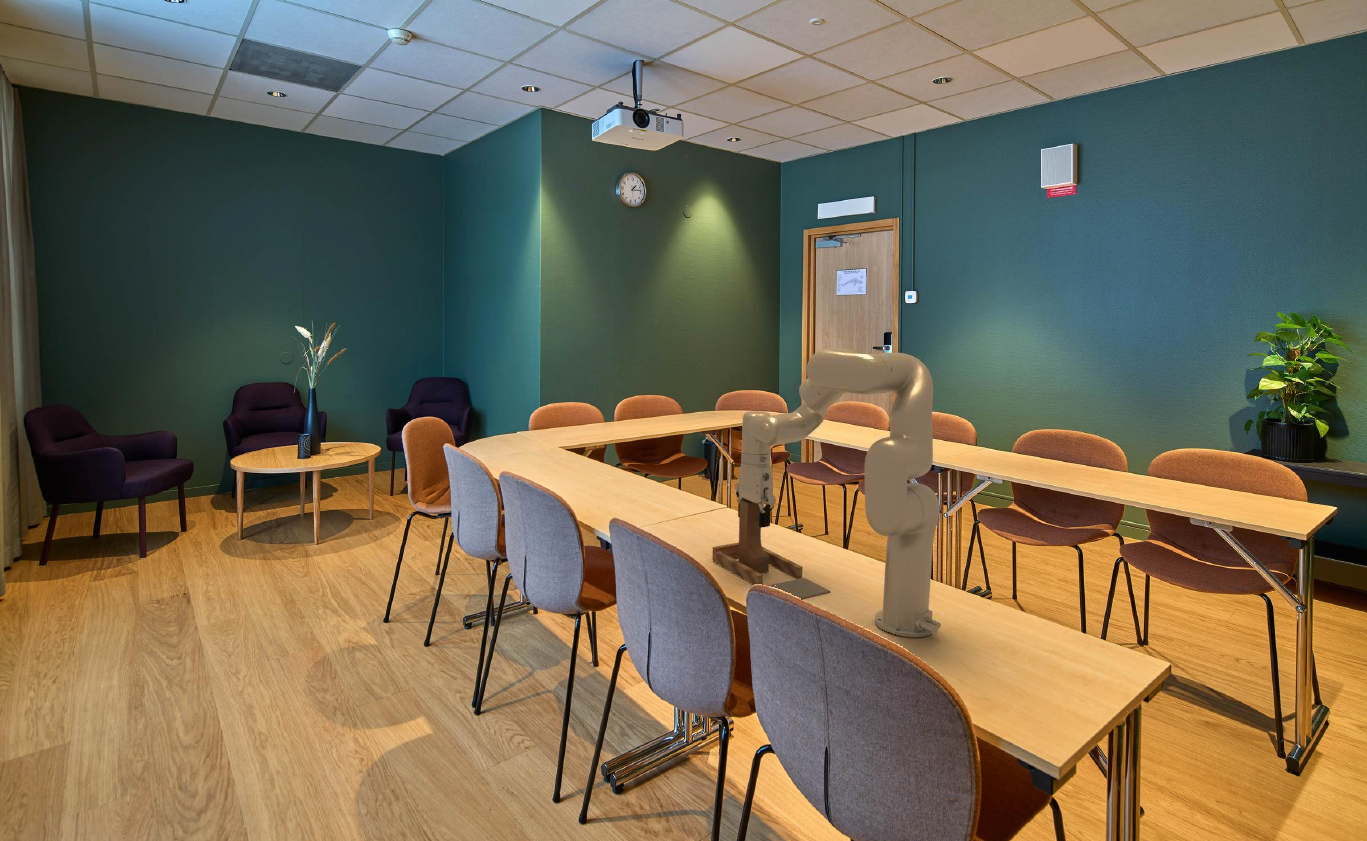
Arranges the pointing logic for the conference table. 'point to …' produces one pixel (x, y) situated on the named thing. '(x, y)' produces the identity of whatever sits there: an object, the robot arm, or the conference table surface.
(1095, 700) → the conference table surface
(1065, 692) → the conference table surface
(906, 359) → the robot arm
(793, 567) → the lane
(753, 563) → the wooden block
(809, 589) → the mat
